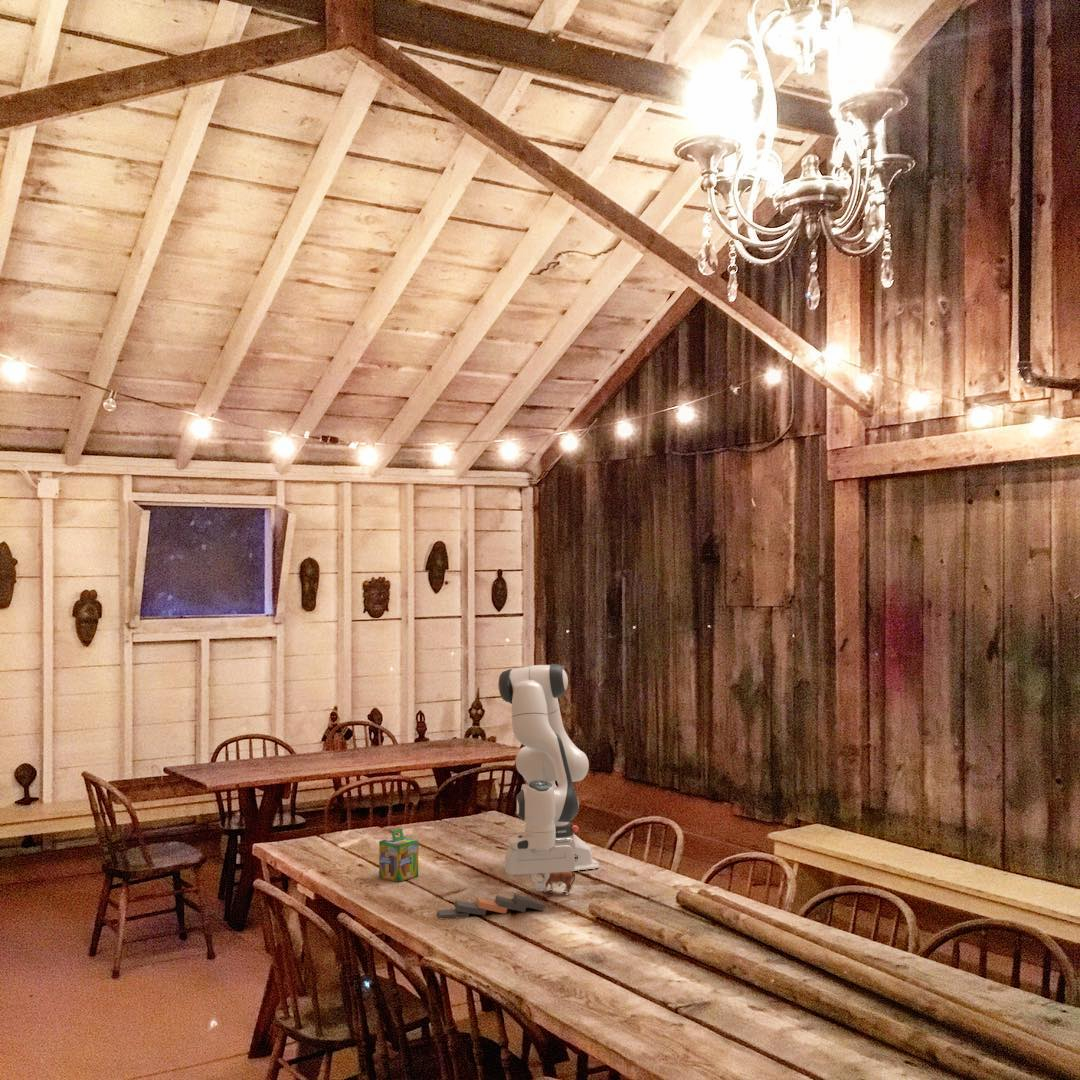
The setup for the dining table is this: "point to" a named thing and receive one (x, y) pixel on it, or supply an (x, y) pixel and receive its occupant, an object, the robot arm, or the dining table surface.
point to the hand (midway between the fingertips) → (539, 888)
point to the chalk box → (398, 858)
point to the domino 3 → (490, 905)
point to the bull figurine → (561, 879)
